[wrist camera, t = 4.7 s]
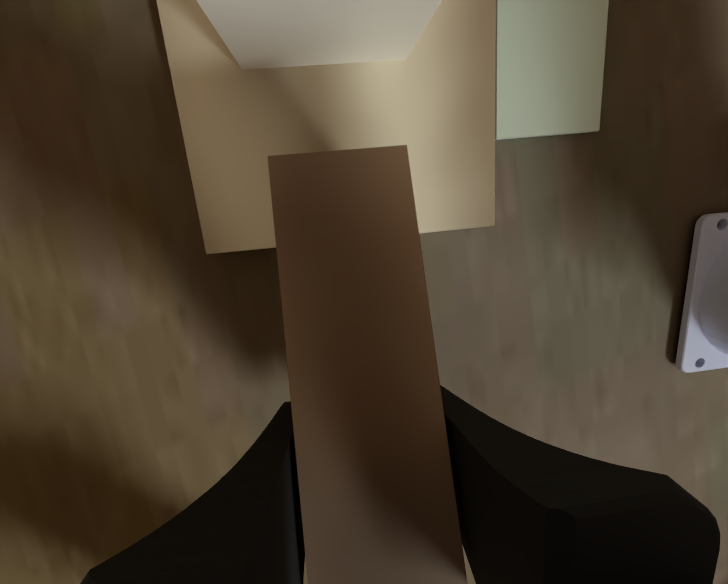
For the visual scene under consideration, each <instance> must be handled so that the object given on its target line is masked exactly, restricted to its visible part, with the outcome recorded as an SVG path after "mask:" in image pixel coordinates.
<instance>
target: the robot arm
mask: <svg viewBox="0 0 728 584" xmlns="http://www.w3.org/2000/svg"><path fill="white" fill-rule="evenodd" d="M718 222H719V225H718V227H717V224H718ZM676 367H677V368H678V369H680V370H681V371H683V372H687V373H690V372H697V371H704V370H712V369H719V368H726V367H728V212H722V213H712V214H705V215H703V216H701V217H700V218H699V219H698V220H697V222H696V225H695V231H694V238H693V245H692V252H691V259H690V266H689V273H688V280H687V287H686V294H685V301H684V308H683V315H682V321H681V328H680V335H679V342H678V349H677V356H676ZM440 389H441V396H442V403H443V411H444V418H445V425H446V432H447V440H448V447H449V454H450V461H451V469H452V476H453V483H454V491H455V498H456V505H457V512H458V520H459V527H460V534H461V541H462V545H463V547H464V550H465V553H466V556H467V559H468V561H469V564H470V567H471V570H472V573H473V576H474V579H475V582H476V584H713V579H714V574H715V569H716V564H717V559H718V555H719V549H720V531H719V527H718V524H717V521H716V518H715V517H714V516H713V514H712V513H711V512H710V511H709V509H708V508H707V507H705V506H704V505H703V504H702V503H701V502H699V501H698V500H697V499H696V498H694V497H693V496H692V495H691V494H690V493H688V492H687V491H686V490H685V489H683V488H682V487H681V486H680V485H678V484H677V483H676V482H675V481H674V480H672V479H671V478H670V477H669V476H667V475H664V474H659V473H654V472H649V471H644V470H639V469H634V468H629V467H624V466H619V465H615V464H611V463H607V462H604V461H600V460H596V459H592V458H589V457H585V456H582V455H579V454H575V453H572V452H569V451H566V450H563V449H561V448H558V447H555V446H552V445H549V444H547V443H544V442H542V441H539V440H536V439H534V438H532V437H530V436H527V435H525V434H523V433H521V432H518V431H516V430H514V429H512V428H510V427H508V426H506V425H504V424H502V423H500V422H498V421H497V420H495V419H493V418H491V417H489V416H488V415H486V414H484V413H483V412H481V411H479V410H478V409H476V408H474V407H473V406H471V405H470V404H468V403H466V402H465V401H463V400H462V399H460V398H459V397H457V396H456V395H454V394H453V393H451V392H450V391H448V390H447V389H445V388H444V387H442V386H441V385H440ZM304 561H305V545H304V535H303V524H302V514H301V503H300V493H299V482H298V472H297V461H296V451H295V440H294V430H293V419H292V409H291V402H284V403H283V405H282V406H281V407H280V409H279V410H278V411H277V413H276V414H275V416H274V417H273V419H272V420H271V421H270V423H269V424H268V426H267V427H266V428H265V430H264V431H263V432H262V434H261V435H260V436H259V437H258V439H257V440H256V441H255V443H254V444H253V445H252V446H251V447H250V449H249V450H248V451H247V452H246V453H245V454H244V456H243V457H242V458H241V459H240V460H239V461H238V462H237V464H236V465H235V466H234V467H233V468H232V469H231V470H230V471H229V472H228V473H227V474H226V475H224V476H223V477H222V478H221V479H220V480H219V481H218V482H217V483H216V484H215V485H214V486H213V487H212V488H210V489H209V490H208V491H207V492H206V493H204V494H203V495H202V496H201V497H199V498H198V499H197V500H196V501H194V502H193V503H192V504H191V505H190V506H188V507H187V508H186V509H185V510H183V511H182V512H181V513H179V514H178V515H177V516H175V517H174V518H172V519H171V520H170V521H168V522H167V523H165V524H164V525H163V526H161V527H160V528H158V529H157V530H155V531H154V532H152V533H151V534H149V535H148V536H146V537H145V538H143V539H141V540H140V541H138V542H137V543H135V544H133V545H132V546H130V547H128V548H127V549H125V550H123V551H121V552H120V553H118V554H116V555H115V556H113V557H111V558H110V559H108V560H106V561H105V562H103V563H101V564H99V565H98V566H96V567H94V568H92V569H90V570H89V572H88V573H87V575H86V576H85V578H84V579H83V581H82V582H81V584H303V576H304Z"/></svg>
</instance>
